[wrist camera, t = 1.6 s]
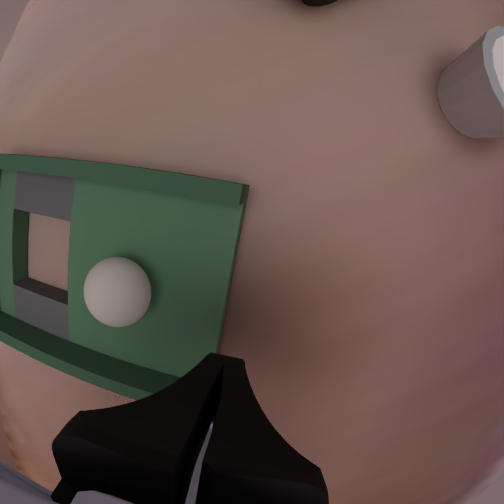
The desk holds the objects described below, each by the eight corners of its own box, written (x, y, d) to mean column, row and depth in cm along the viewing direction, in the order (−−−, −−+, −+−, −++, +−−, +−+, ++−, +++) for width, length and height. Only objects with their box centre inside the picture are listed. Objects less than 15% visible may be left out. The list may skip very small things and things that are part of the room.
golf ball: (157, 318, 19) (133, 347, 15) (102, 303, 19) (71, 326, 15) (164, 257, 18) (137, 276, 14) (106, 244, 18) (71, 258, 15)
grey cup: (504, 152, 17) (566, 147, 10) (434, 141, 18) (496, 127, 11) (492, 69, 16) (546, 45, 9) (422, 50, 16) (470, 10, 10)
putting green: (213, 380, 22) (181, 482, 12) (9, 310, 23) (-65, 352, 13) (257, 145, 19) (242, 104, 9) (18, 124, 19) (-73, 113, 9)
